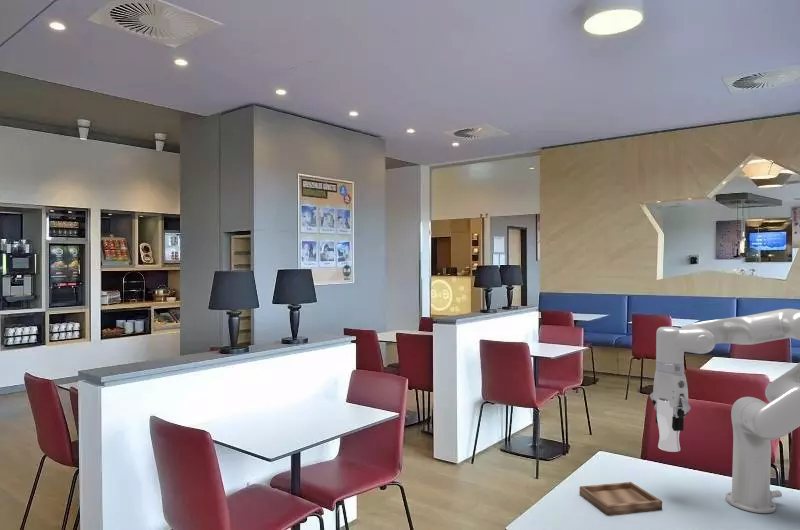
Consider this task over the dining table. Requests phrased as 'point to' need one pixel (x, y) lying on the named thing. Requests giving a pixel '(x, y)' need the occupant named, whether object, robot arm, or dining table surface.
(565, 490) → the dining table surface
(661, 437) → the beer glass
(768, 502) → the robot arm
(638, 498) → the walnut tray
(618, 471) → the dining table surface
